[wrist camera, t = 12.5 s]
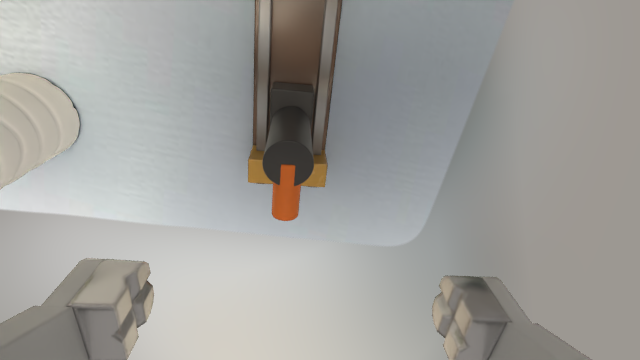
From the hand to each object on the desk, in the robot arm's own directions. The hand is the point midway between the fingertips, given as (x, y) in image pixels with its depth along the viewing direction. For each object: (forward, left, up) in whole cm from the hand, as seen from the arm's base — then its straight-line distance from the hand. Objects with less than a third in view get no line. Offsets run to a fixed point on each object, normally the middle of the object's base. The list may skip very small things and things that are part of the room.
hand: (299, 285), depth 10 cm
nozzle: (+1, +1, -19) cm, 19 cm away
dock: (+3, +4, -19) cm, 20 cm away
